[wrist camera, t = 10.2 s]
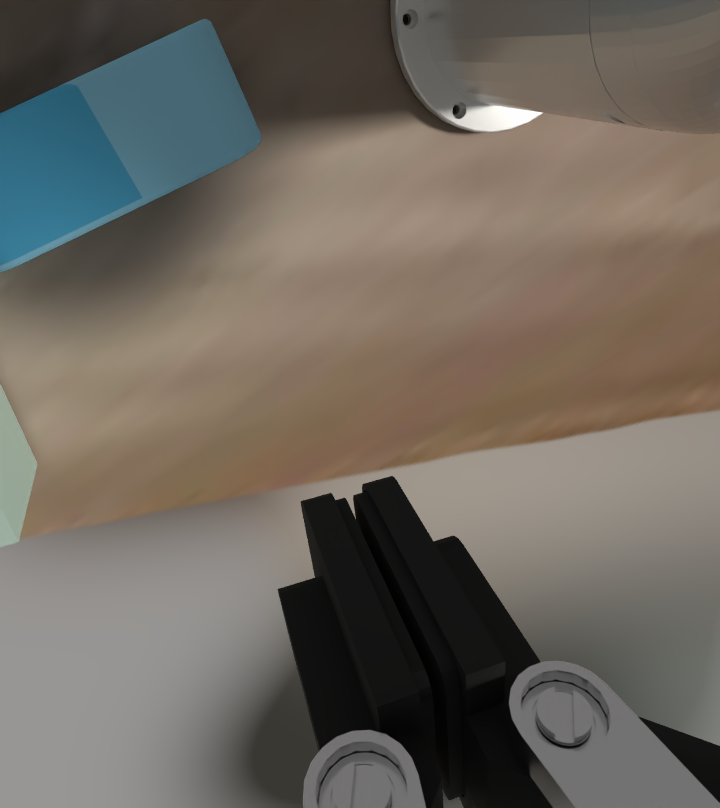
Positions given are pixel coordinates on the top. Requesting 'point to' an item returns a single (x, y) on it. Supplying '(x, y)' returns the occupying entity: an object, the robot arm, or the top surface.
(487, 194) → the top surface
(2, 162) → the data package
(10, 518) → the tray
